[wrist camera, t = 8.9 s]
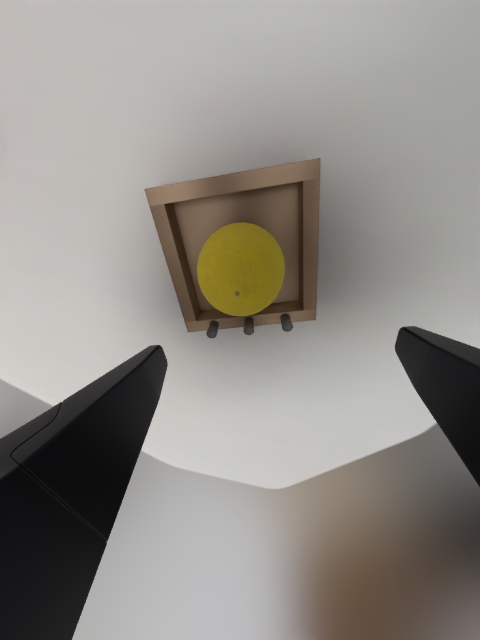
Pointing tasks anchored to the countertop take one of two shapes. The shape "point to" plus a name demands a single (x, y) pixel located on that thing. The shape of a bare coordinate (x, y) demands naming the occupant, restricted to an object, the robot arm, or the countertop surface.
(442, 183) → the countertop surface
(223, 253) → the lemon
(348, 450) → the countertop surface
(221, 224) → the tray
